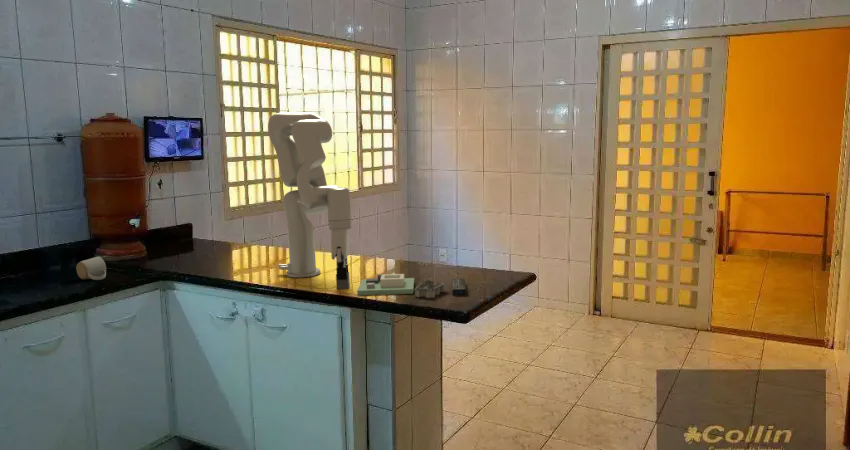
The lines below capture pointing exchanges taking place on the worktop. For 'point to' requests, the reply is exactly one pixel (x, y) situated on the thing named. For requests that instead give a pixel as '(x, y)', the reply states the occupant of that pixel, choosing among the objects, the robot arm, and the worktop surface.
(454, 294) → the multiport hub
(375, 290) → the board
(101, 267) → the ceramic mug
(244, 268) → the worktop surface
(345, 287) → the plug
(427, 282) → the egg carton
